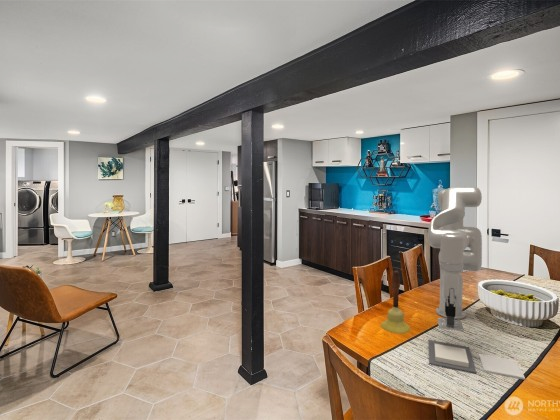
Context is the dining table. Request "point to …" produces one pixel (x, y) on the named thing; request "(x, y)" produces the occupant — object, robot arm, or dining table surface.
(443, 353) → the tile
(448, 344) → the tile mat
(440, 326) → the post on square base
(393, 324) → the handbell
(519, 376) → the pad
